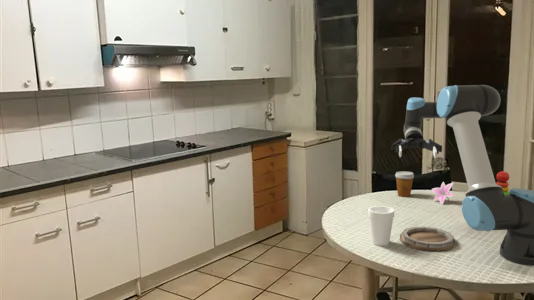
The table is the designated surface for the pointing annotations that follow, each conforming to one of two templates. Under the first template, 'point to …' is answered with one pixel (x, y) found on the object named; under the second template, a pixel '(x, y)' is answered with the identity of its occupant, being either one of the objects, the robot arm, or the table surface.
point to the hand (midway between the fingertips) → (418, 154)
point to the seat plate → (427, 239)
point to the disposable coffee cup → (404, 183)
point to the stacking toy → (503, 181)
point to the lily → (442, 192)
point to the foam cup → (380, 224)
